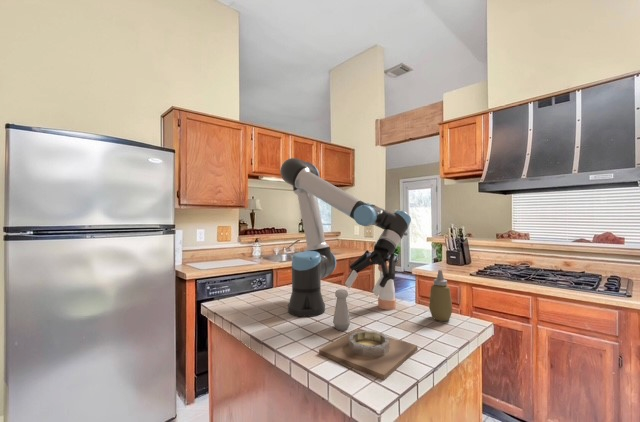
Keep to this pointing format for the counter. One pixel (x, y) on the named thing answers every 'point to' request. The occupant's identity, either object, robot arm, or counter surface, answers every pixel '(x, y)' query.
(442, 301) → the squeeze bottle
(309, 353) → the counter surface
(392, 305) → the pepper shaker
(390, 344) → the collar board
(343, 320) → the salt shaker
